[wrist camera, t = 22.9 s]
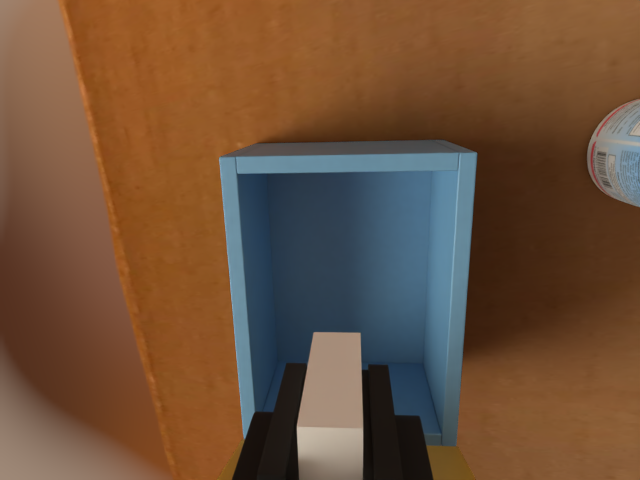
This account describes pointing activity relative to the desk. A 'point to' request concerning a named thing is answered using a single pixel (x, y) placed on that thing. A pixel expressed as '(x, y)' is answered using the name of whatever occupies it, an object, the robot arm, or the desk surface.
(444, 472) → the lid
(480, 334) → the desk surface
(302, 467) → the eraser
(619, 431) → the desk surface
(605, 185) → the pill bottle
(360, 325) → the blue open box
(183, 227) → the desk surface
